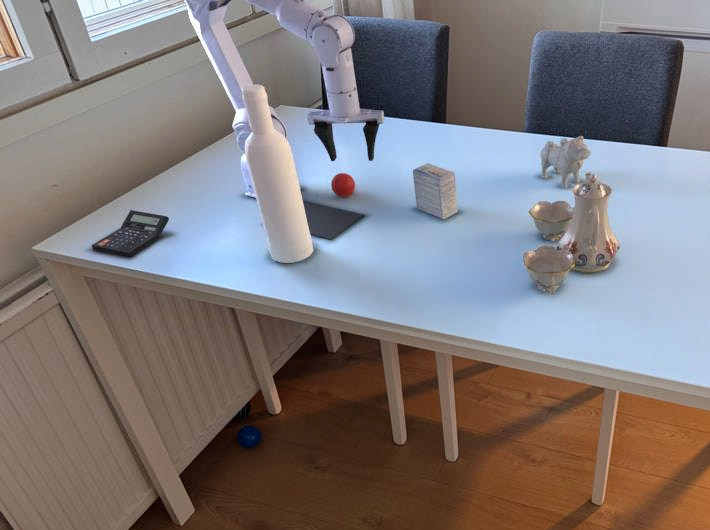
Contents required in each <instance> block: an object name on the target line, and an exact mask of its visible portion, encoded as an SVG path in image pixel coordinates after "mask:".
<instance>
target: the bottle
mask: <svg viewBox="0 0 710 530" xmlns="http://www.w3.org/2000/svg"><path fill="white" fill-rule="evenodd" d="M242 99H243V101H244V103H245V107H246V111H247V115H248V118H249V122H250V126H251V130H252V133H251V134H250V136H249V137H248V139H247V140H246V142H245V158H246V162H247V166H248V170H249V173H250V177H251V181H252V185H253V189H254V192H255V196H256V198H255V200H256V203H257V207H258V210H259V211H258V212H259V214H260V218H261V222H262V226H263V230H264V233H265V237H266V243H267V248H268V251H269V252H270V256H271V258H272V259H273V261H275V262H278V263H282V264H292V263H299V262H301V261H304V260H305V259H307V258H308V257H310V256H311V255H312V254H313V252H314V246H313V239H312V235H310V232H309V228H308V223H307V218H306V214H305V209H304V205H303V200H304V199H303V196H302V191H301V189H300V181H299V178H298V174H297V168H296V164H295V160H294V155H293V150H292V146H291V145H290V142H289V141H288V138H287V139H286V138H285V136H284V135H282V134H281V133H279V132H278V131H276V130H275V129H274V127H273V123H272V118H271V114H270V110H269V106H270V105H269V102H268V99H269V98H268V94H267V92H266V87H265V86H263V85H262V84H253V85H248V86H245V87H243V89H242Z"/></svg>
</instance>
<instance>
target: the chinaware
mask: <svg viewBox="0 0 710 530" xmlns="http://www.w3.org/2000/svg"><path fill="white" fill-rule="evenodd" d="M584 178H585V179H584V182H581V183H576V185H575V186H572V190H571V191H572V193H573V195H574V207H572V206H571V205H570V204H569V203H568V202H567V201H565V200H557V201H553V202H550V201H547V200H542V201H541V200H540V201H538V202H537V203H535V205H534V206H533V207H532V208H530V209H529V210H528V214H529V215H530V216H531V217H532V218H533V221H534V225H535V227H536V229H537V230H538V231H539V232H540V233H541V234H542V236H543V239H544V240H547V241H552V242H554V241H558V242H557V244H556V247H554V246H552V245H543V246H542V245H541V246H539V247H537V248H536V249H535V250H527V251H526V252H525V253H523V264H524V267H525V268H526V270H527V272H528V275H529V278H531V280H532V281H533V282H534V283H535V284H537V286H536V287H537V288H538V289H539V290H540V291H541V292H547V293H550V295H551V296H553V295H554V294H555V292H556V290H557V289H558V288H559V286H560V284H562V283H563V282H564V281H565V280H566V279H567V277H568V275H569V273H570V271H573V272H576V273H581V274H598V273H601V272H603V271H606V270H607V269H608V268H610V266H611V263H612V262H613V260H614V259H615V257H616V254H617V253H618V252H619V250H620V248H621V245H620V242H619V239H618V238H617V236H616V235H615V232H614V231H613V229H612V228H611V224H610V220H609V213H608V205H609V200H610V196H611V195H612V193H613V189H612V188H611V186H609V185H607V184H606V183H602V182H601V181H600V180H598V179H599V178H598V176H596V173H592V172H587V173H585V175H584Z"/></svg>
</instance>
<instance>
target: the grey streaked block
mask: <svg viewBox="0 0 710 530" xmlns="http://www.w3.org/2000/svg"><path fill="white" fill-rule="evenodd" d="M412 178H413V186H414V194H415V203H416V209H417V210H419V211H421V212H424V213H427V214H429V215H432V216H434V217H437V218H439V219H442V220H445V219H448V218H449V217H451V216H453V215H455V214H457V213H459V209H458V196H457V195H458V194H457V183H456V182H457V181H456V173H455V172H454V171H451V170H449V169H446V168H443V167H441V166H438V165H434V164H431V163H429V162H427V163H425V164H423V165H420V166H418V167H416V168H414V169H413V170H412Z"/></svg>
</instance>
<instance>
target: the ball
mask: <svg viewBox="0 0 710 530" xmlns="http://www.w3.org/2000/svg"><path fill="white" fill-rule="evenodd" d="M330 187H331V190H332V192H333V193H334V194H335V196H336V197H337V196H338V197H340V198H348V197H350V196H351V195H353V193H354V192H355V189H356V183H355V180H354V178H353V177H352V176H351V175H350V174H348V173H345V172H339V173H337V174H336V175H334V176H333V178H332V179H331V182H330Z"/></svg>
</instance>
